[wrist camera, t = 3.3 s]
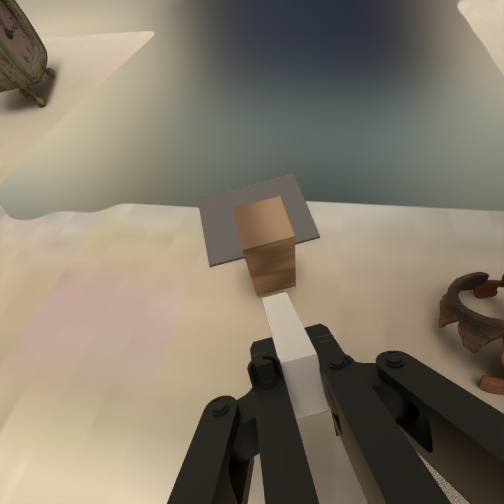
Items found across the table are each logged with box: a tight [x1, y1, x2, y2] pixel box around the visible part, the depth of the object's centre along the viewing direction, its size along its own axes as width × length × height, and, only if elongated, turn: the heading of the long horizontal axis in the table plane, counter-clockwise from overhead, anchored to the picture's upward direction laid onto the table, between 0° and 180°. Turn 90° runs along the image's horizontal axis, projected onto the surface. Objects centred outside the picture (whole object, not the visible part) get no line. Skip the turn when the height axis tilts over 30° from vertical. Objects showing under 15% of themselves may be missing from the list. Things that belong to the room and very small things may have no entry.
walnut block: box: [232, 196, 296, 297], centre depth 31 cm, size 4×4×11 cm
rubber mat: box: [198, 173, 320, 267], centre depth 40 cm, size 14×11×1 cm
